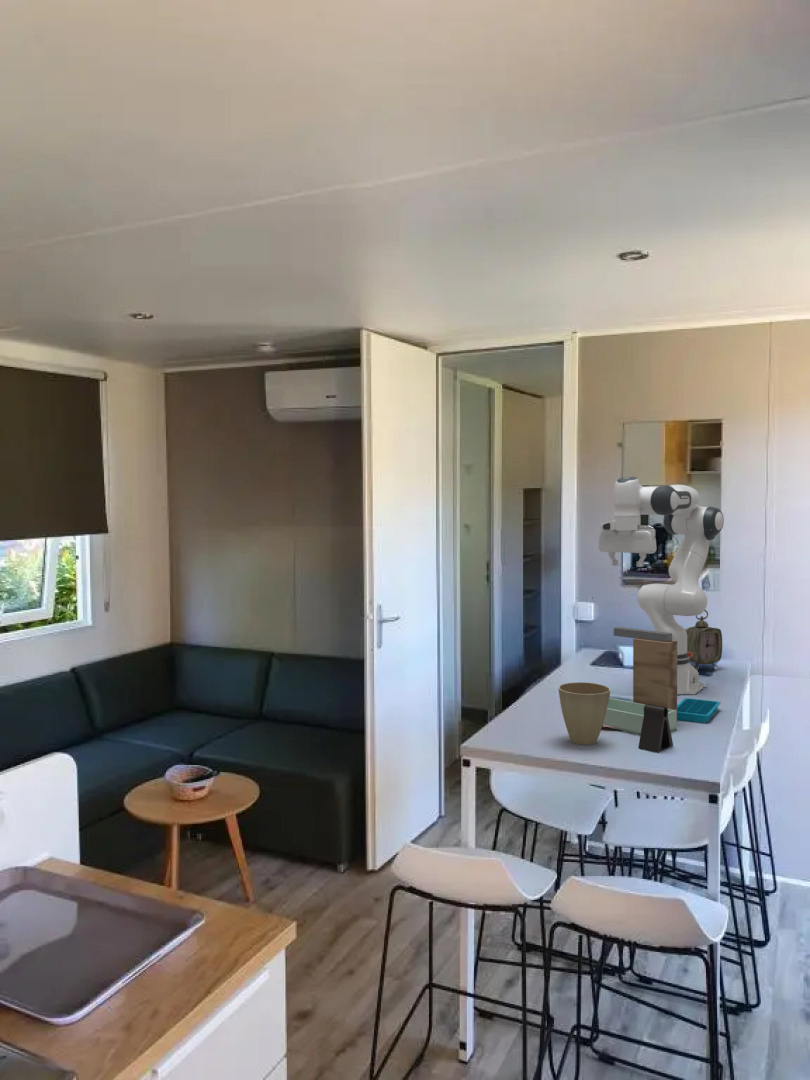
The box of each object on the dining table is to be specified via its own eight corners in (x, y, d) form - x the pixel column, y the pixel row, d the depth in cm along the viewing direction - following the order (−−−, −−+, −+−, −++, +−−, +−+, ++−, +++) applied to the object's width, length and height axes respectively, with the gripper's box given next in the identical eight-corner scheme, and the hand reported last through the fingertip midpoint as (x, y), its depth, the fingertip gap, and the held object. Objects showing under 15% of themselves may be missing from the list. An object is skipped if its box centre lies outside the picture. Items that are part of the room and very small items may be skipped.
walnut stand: (642, 715, 272) (642, 636, 271) (677, 722, 264) (677, 640, 262) (633, 719, 268) (633, 639, 266) (667, 726, 259) (667, 643, 258)
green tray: (598, 713, 275) (598, 695, 275) (676, 729, 255) (676, 710, 255) (576, 721, 266) (576, 702, 266) (655, 738, 247) (655, 718, 246)
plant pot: (562, 749, 238) (561, 693, 237) (555, 734, 253) (555, 682, 252) (615, 749, 237) (615, 693, 236) (605, 734, 252) (605, 682, 251)
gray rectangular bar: (618, 634, 275) (618, 627, 275) (672, 641, 262) (672, 633, 262) (613, 635, 273) (613, 628, 273) (667, 642, 260) (667, 634, 260)
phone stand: (657, 753, 233) (657, 710, 232) (638, 748, 237) (638, 707, 237) (673, 746, 239) (673, 704, 239) (654, 741, 243) (654, 701, 243)
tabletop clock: (697, 674, 332) (697, 612, 331) (679, 670, 340) (679, 609, 339) (722, 670, 339) (722, 609, 338) (704, 666, 347) (704, 606, 346)
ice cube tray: (721, 710, 278) (721, 701, 278) (708, 725, 261) (708, 715, 261) (685, 706, 284) (685, 697, 284) (670, 720, 267) (670, 711, 267)
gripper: (660, 525, 276) (660, 566, 276) (606, 524, 290) (606, 564, 291) (650, 525, 271) (650, 568, 272) (596, 525, 286) (596, 565, 287)
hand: (627, 566), depth 282 cm, fingers open, 8 cm apart
